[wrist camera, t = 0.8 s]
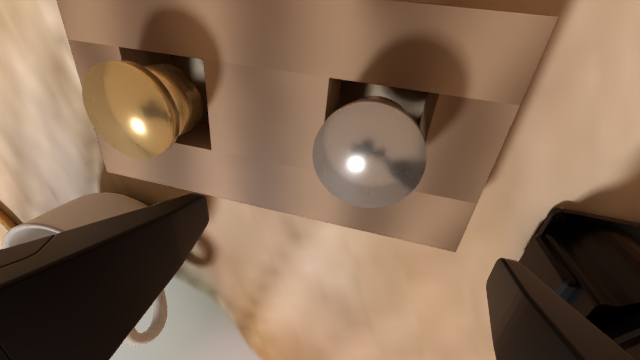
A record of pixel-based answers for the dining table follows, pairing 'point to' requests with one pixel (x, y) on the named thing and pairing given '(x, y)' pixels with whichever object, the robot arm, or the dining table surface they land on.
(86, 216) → the teacup
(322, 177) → the grey plug
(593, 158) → the dining table surface
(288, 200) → the walnut block
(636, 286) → the robot arm
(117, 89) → the brass plug
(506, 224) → the dining table surface
